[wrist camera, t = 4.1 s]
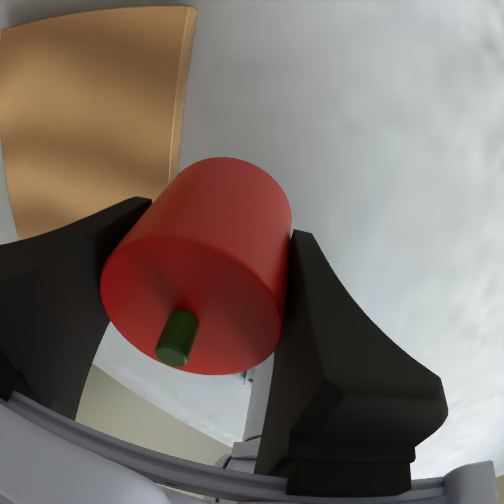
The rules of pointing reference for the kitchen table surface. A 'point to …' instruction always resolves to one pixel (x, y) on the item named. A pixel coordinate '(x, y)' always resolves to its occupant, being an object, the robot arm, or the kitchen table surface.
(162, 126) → the cutting board
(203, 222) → the pepper
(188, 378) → the kitchen table surface
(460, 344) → the kitchen table surface
